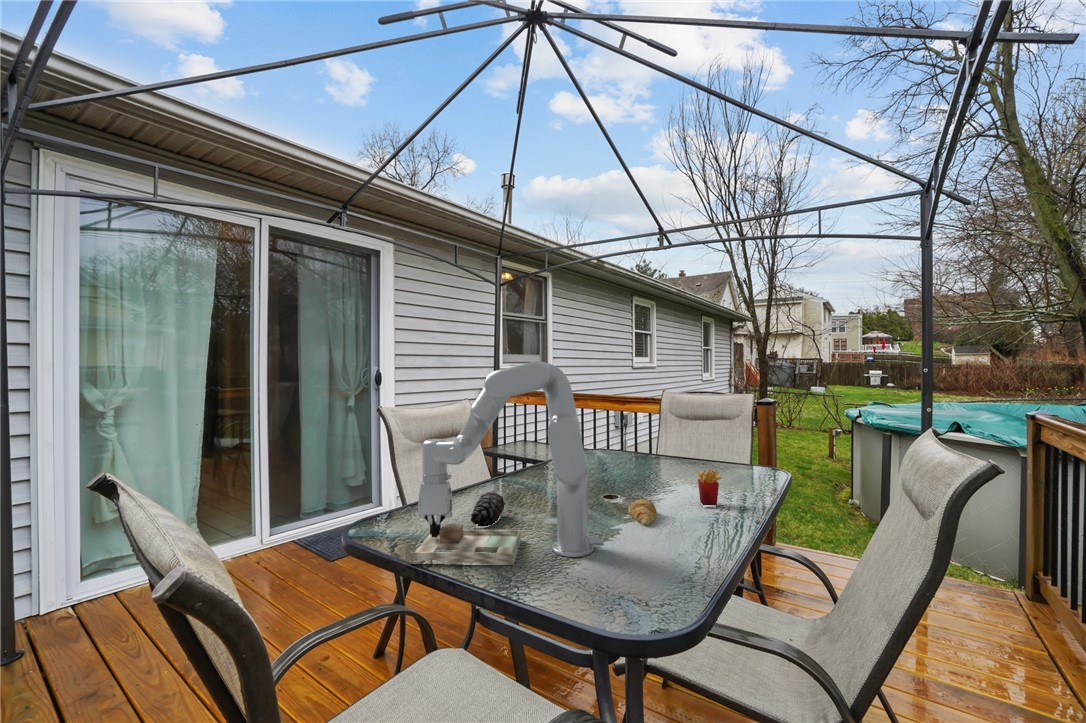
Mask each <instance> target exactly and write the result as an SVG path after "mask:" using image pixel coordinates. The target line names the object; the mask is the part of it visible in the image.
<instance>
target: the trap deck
mask: <svg viewBox="0 0 1086 723" xmlns="http://www.w3.org/2000/svg"><path fill="white" fill-rule="evenodd" d="M521 531H522V530H521V529H476V530H475V529H463V537H462V539H461V540H460V542H459V543H440V534H439V535H438V536H437V538H435V537H432V536H431V534H430V533H429V535H428V536H427V537H426V538H425V539H424V540H423V542H422V543H421V544H420V545H419V547H418V548H417V549H416V550H415V551H410V552H409V557H410V558H409V560H410V559H417V560H439V561H440V560H441V561H450V562H465V563H466V562H467V563H479V564H494V565H495V564H497V565H513V566H514V565H515V562H516V559H517V555H518V552H519V549H518V548H520V544H521V542H522V538H521V537H522V532H521ZM437 549H446V550H458V551H457V552H436V550H437ZM476 552H488V553H476ZM489 552H490V553H489ZM515 558H516V559H515ZM514 561H515V562H514Z"/></svg>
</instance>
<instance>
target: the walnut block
mask: <svg viewBox="0 0 1086 723" xmlns="http://www.w3.org/2000/svg"><path fill="white" fill-rule="evenodd" d="M463 528H464V523H444V524H443V525H442V526H441V529H440V530H439V534H440V543H459V542H460V540H461V539H462V537H463V530H464V529H463Z"/></svg>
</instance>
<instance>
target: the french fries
mask: <svg viewBox="0 0 1086 723" xmlns="http://www.w3.org/2000/svg"><path fill="white" fill-rule="evenodd" d="M697 474H698V479H697V483H698V484H697V485H698V494H699V502H701V503H702V504H703V505H717V506H718V499H719V498H718V496H719V495H718V494H719V488H720V487H719V486H720V484H719V482H718V481H719V480H721V479H722V476H721V475H719V474H720V471H718V470H717V469H716V470H712V469H711V468H709V469H708V470H707V469H704V470H703V471H700V470H698V471H697ZM717 475H718V476H717ZM701 503H700V504H701Z"/></svg>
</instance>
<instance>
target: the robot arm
mask: <svg viewBox="0 0 1086 723" xmlns="http://www.w3.org/2000/svg"><path fill="white" fill-rule="evenodd" d="M483 386H484V387H483V388H482V390H481V392H480V393H479V394H478V396H477V397H476V399H475V401H474V402H473V403H472V405H471V407H470V409H469V417H468V419H467V421H466V423H465V425H464V426H463V428H462V429H461V431H460V432H459V434H458V435H457V437H455V439H453V440H450V441H446V440H445V439H442V438H430V439H426V440H424V441H423V442H422V482H420V487H419V491H418V503H417V506H418V507H417V509H418V514H417V517H418V518H420V519H424V520H425V521H426V522H427V523H428V525H429V535H430V534H431V536H432V537H435V538H437V536H438V535H439V530H440V529H441V528H442V526H441V523H442V522H443V521H444V520H448V519H451V518H452V517H453V512H452V510H453V495H452V494H453V493H452V487H451V483H450V480H451V479H452V474H449V473H448V465H452V466H458V465H461V464H463V463H464V462H465V461H467V459H469V458H471V456H472V455H473V454H474V452H476V450H477V448H478V447H479V446H480V443H481V442H482V441H483V439H484V438H485V437H486V435H487V433H488V431H489V429H490V428H491V427H492V426H493V424H494V422H495V421H496V419H497V417H498V416H499V414H500V412H501V411H502V410H503V408H504V406H506V403H508V401H509V399H510V398H511V397H514V396H515V397H516V396H519V395H523V394H527V393H532V392H535V391H536V392H537V391H540V390H543V392H544V396H545V401H546V406H547V411H548V416H549V425H548V428H547V439H548V445H549V450H550V455H551V460H552V466H553V470H554V474H555V477H556V497H557V498H556V508H557V509H556V510H557V511H556V515H557V516H556V517H557V519H556V520H557V526H556V527H557V528H556V529H557V541H555V542H554V543H553V544H552V552H554V553H555V554H557V555H559V556H562V557H567V558H581V557H585V556H588V555H590V554H591V553H593V552H594V549H595V548H594V547H595V545H596V546H604V538H600V536H592V535H590V531H589V488H588V486H589V484H588V483H589V482H588V480H589V478H588V477H589V476H588V473H589V462H588V457H587V455H586V453H585V450H584V444H583V440H582V439H583V438H582V434H581V424H580V421H579V417H578V413H577V408H576V403H575V399H574V394H573V390H572V385H571V383H570V381H569V379H568V377H567V375H566V374H565V373H564V372H563V371H562V370H561V369H560V368H559V367H558V366H556V365H554V364H552V363H549V362H545V361H540V360H537V361H531V362H527V363H522V364H519V365H515V366H510V367H506V368H502V369H497V370H493V371H491V372H490V373H489V374H487V376H486V378H485V380H484V384H483ZM435 516H436V519H435Z"/></svg>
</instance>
